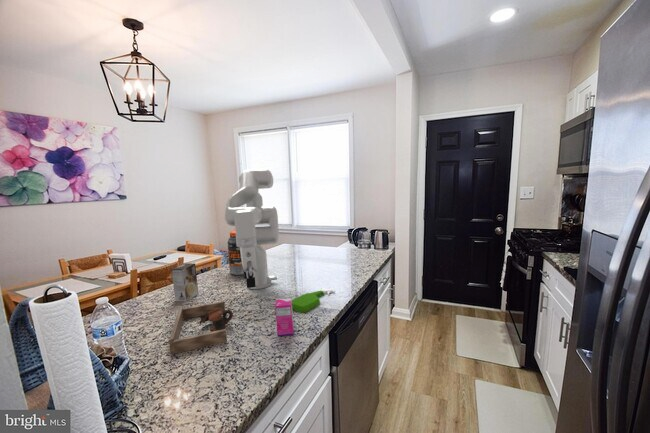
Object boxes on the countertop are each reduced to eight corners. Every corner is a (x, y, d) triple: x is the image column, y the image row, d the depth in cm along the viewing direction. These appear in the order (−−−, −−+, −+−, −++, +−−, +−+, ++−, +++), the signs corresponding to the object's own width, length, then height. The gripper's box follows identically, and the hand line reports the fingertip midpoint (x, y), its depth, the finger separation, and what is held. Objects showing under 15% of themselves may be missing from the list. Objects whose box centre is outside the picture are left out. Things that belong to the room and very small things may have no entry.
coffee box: (187, 293, 138) (184, 262, 136) (198, 294, 137) (195, 263, 135) (174, 301, 129) (170, 268, 127) (186, 301, 128) (182, 268, 126)
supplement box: (278, 328, 101) (276, 298, 99) (294, 327, 101) (292, 297, 100) (276, 336, 95) (274, 305, 94) (293, 335, 95) (291, 304, 94)
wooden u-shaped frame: (225, 309, 118) (224, 298, 117) (227, 341, 93) (225, 327, 93) (180, 318, 112) (179, 306, 111) (170, 354, 87) (168, 340, 87)
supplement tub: (224, 274, 166) (220, 232, 163) (241, 266, 180) (238, 228, 177) (245, 276, 160) (241, 233, 157) (261, 268, 174) (258, 229, 171)
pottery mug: (203, 339, 96) (195, 317, 98) (206, 338, 105) (199, 317, 106) (236, 323, 101) (228, 302, 102) (237, 323, 109) (230, 303, 111)
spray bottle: (285, 308, 117) (319, 290, 137) (305, 314, 111) (337, 294, 131) (285, 302, 117) (319, 284, 137) (304, 308, 111) (337, 288, 130)
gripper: (259, 245, 99) (262, 289, 102) (253, 235, 115) (256, 273, 118) (238, 248, 96) (242, 293, 99) (234, 237, 112) (238, 276, 115)
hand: (249, 282), depth 109 cm, fingers open, 9 cm apart
